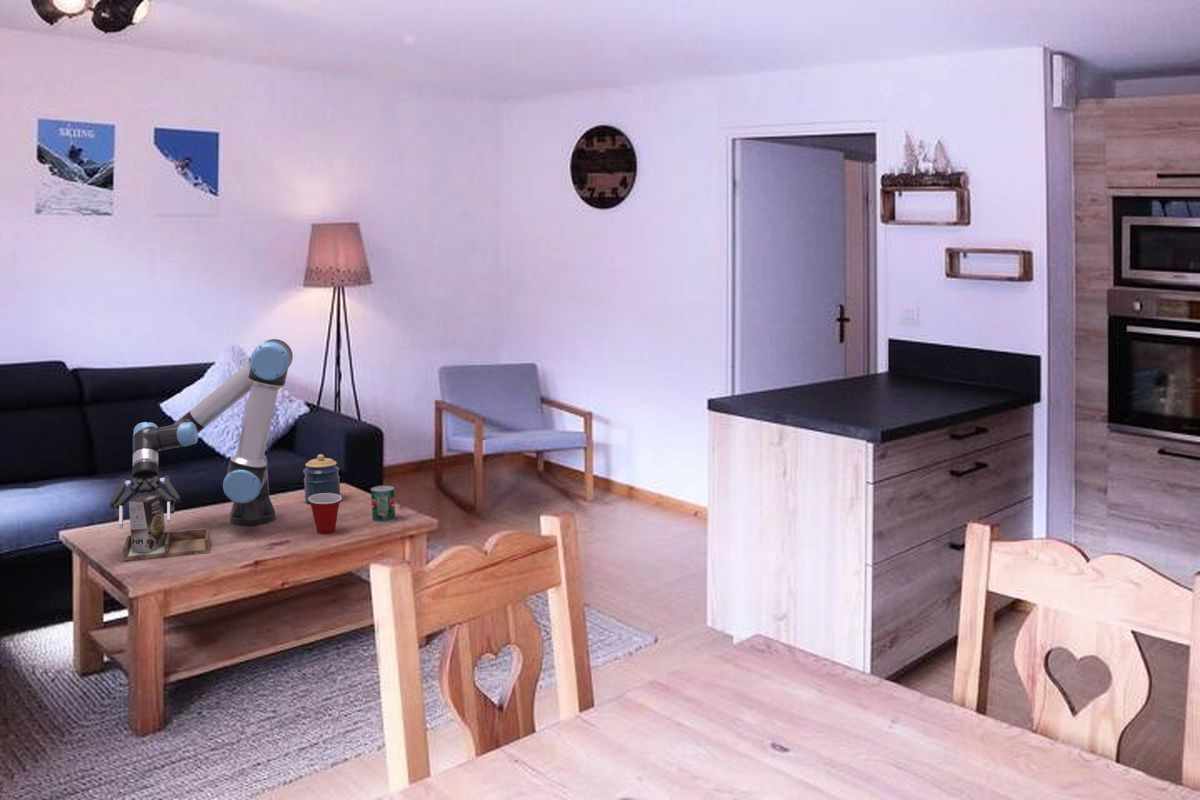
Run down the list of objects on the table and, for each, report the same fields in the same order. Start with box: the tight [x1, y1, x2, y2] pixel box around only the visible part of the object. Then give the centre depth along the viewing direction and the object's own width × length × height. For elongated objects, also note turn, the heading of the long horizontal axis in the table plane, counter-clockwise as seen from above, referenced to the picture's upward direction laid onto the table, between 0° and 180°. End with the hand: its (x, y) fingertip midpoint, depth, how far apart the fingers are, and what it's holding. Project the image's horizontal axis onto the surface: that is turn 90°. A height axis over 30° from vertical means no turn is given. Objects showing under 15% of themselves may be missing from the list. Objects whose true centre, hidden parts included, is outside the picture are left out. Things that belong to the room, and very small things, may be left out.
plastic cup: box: [308, 493, 343, 535], centre depth 337 cm, size 11×11×12 cm
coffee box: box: [128, 494, 166, 553], centre depth 316 cm, size 9×6×16 cm
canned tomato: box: [370, 485, 396, 523], centre depth 352 cm, size 8×8×11 cm
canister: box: [302, 453, 342, 505], centre depth 378 cm, size 13×13×18 cm
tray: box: [122, 527, 211, 562], centre depth 318 cm, size 24×14×4 cm, turn 109°
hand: (145, 524), depth 313 cm, fingers open, 13 cm apart
